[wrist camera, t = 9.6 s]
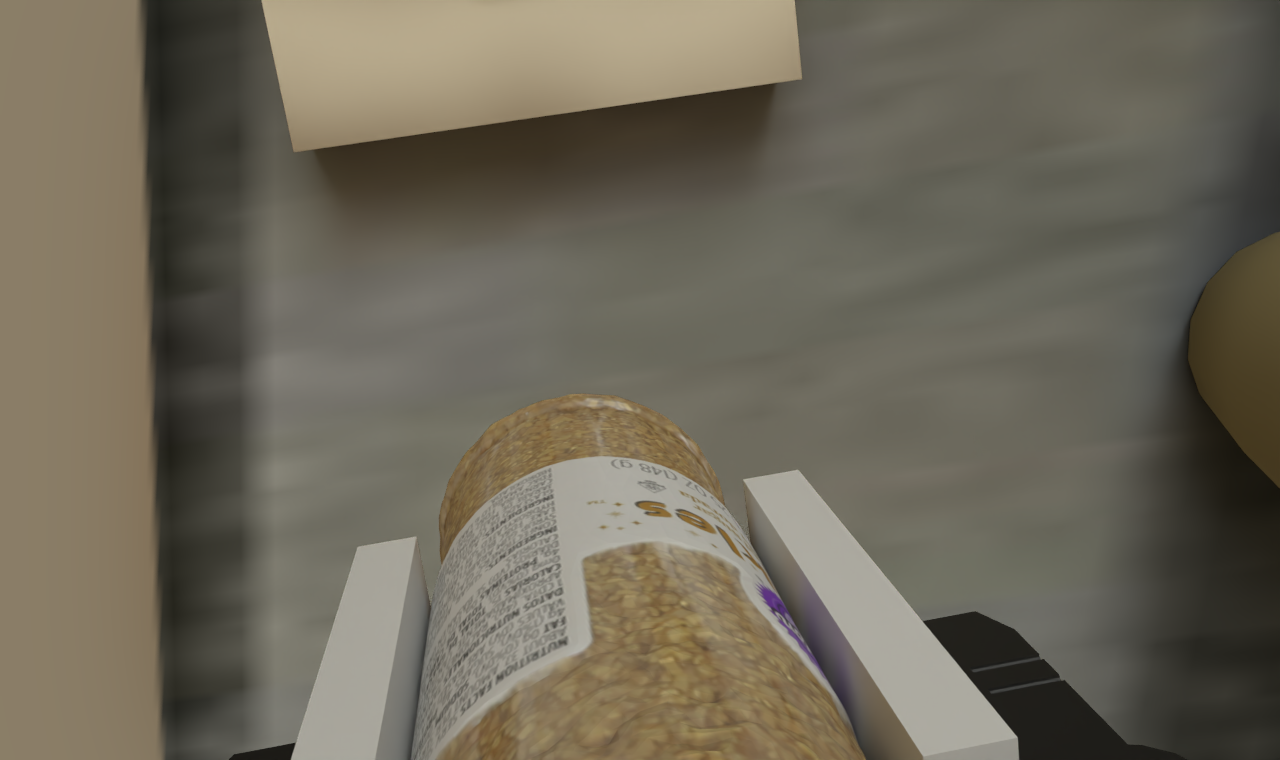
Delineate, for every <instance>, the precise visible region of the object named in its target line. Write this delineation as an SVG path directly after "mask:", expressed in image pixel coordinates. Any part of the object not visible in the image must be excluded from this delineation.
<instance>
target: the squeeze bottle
mask: <svg viewBox="0 0 1280 760" xmlns="http://www.w3.org/2000/svg"><path fill="white" fill-rule="evenodd" d="M1188 362H1189V364H1190V367H1191V370H1192V373H1193V376H1194V379H1195V382H1196V385H1197V388H1198V391H1199V394H1200V395H1201V396H1202V398H1203V399H1204V400H1205V402H1206V403H1207V404H1208V406H1209V407H1210V408H1211V410H1212V411H1213V412H1214V413H1215V415H1216V416H1217V417H1218V419H1219V420H1220V421H1221V423H1222V424H1223V425H1224V427H1225V428H1226V429H1227V431H1228V432H1229V433H1230V434H1231V436H1232V437H1233V438H1234V440H1235V441H1236V442H1237V444H1238V445H1239V446H1240V448H1241V449H1242V450H1243V452H1244V453H1245V454H1246V455H1247V456H1248V457H1249V458H1250V459H1251V460H1252V461H1253V462H1254V463H1255V464H1256V465H1257V466H1258V467H1259V468H1260V469H1261V470H1262V471H1263V472H1264V473H1265V474H1266V475H1267V476H1268V477H1269V478H1270V479H1271V480H1272V481H1273V482H1274V483H1275V484H1276V485H1277V486H1278V487H1279V488H1280V232H1277V233H1274V234H1272V235H1270V236H1268V237H1266V238H1264V239H1262V240H1260V241H1257V242H1255V243H1253V244H1251V245H1249V246H1247V247H1245V248H1243V249H1241V250H1239V251H1237V252H1236V253H1235V254H1234V255H1233V256H1232V257H1231V258H1230V259H1229V261H1228V262H1227V263H1226V264H1225V265H1224V266H1223V267H1222V268H1221V269H1220V270H1219V271H1218V272H1217V273H1216V274H1215V275H1214V276H1213V277H1212V278H1211V279H1210V280H1209V281H1208V283H1207V285H1206V287H1205V289H1204V292H1203V294H1202V296H1201V298H1200V300H1199V303H1198V305H1197V307H1196V309H1195V312H1194V314H1193V316H1192V318H1191V321H1190V335H1189V349H1188Z"/></svg>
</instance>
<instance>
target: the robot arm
mask: <svg viewBox="0 0 1280 760" xmlns="http://www.w3.org/2000/svg"><path fill="white" fill-rule="evenodd" d="M743 484H744V492H745V501H746V509H747V517H748V525H749V534H750V542H751V545H752V546H753V548H754V550H755V552H756V553H757V555H758V557H759V559H760V560H761V562H762V564H763V566H764V568H765V569H766V571H767V573H768V575H769V577H770V579H771V581H772V583H773V584H774V586H775V588H776V590H777V592H778V594H779V596H780V598H781V599H782V601H783V603H784V605H785V607H786V608H787V610H788V612H789V614H790V616H791V618H792V620H793V622H794V624H795V625H796V627H797V629H798V631H799V632H800V634H801V636H802V637H803V639H804V641H805V642H806V644H807V646H808V647H809V649H810V651H811V652H812V654H813V656H814V657H815V659H816V661H817V662H818V664H819V666H820V667H821V669H822V671H823V673H824V674H825V676H826V678H827V680H828V682H829V683H830V685H831V687H832V688H833V690H834V692H835V693H836V695H837V697H838V698H839V700H840V702H841V703H842V705H843V707H844V708H845V710H846V713H847V715H848V717H849V719H850V722H851V724H852V727H853V730H854V733H855V735H856V738H857V741H858V745H859V747H860V748H861V750H862V752H863V753H864V755H865V758H866V760H1187V759H1185V758H1183V757H1181V756H1179V755H1177V754H1175V753H1171V752H1167V751H1163V750H1159V749H1155V748H1151V747H1147V746H1143V745H1128V744H1127V743H1126V742H1125V741H1124V740H1123V739H1122V738H1121V737H1120V736H1119V735H1118V734H1117V733H1116V732H1115V731H1114V730H1113V729H1112V728H1111V727H1110V726H1109V725H1108V724H1107V723H1106V722H1105V721H1104V720H1103V719H1102V718H1101V717H1100V716H1099V715H1098V714H1097V713H1096V712H1095V711H1094V710H1093V709H1092V708H1091V707H1090V706H1089V705H1088V704H1087V703H1086V702H1085V701H1084V700H1083V699H1082V698H1081V697H1080V696H1079V694H1078V693H1077V692H1076V691H1075V690H1074V689H1073V688H1072V687H1071V686H1070V685H1069V684H1068V683H1067V682H1066V681H1065V680H1063V681H1061V680H1060V676H1059V674H1058V673H1057V672H1056V671H1055V670H1054V669H1053V668H1052V667H1051V666H1050V665H1049V664H1048V663H1047V662H1046V661H1045V660H1044V659H1042V660H1040V657H1039V654H1038V653H1037V652H1036V651H1035V650H1034V649H1033V648H1032V647H1031V646H1030V645H1029V644H1028V643H1027V642H1026V641H1025V639H1024V638H1023V637H1022V636H1021V635H1020V634H1019V633H1018V632H1017V631H1016V630H1015V629H1013V628H1010V627H1008V626H1006V625H1004V624H1002V623H1000V622H997V621H995V620H993V619H991V618H989V617H987V616H984V615H982V614H980V613H978V612H976V611H975V612H969V613H964V614H959V615H953V616H948V617H943V618H937V619H932V620H927V621H922V620H921V619H920V618H919V616H918V615H917V614H916V613H915V612H914V610H913V609H912V608H911V607H910V606H909V604H908V603H907V602H906V601H905V599H904V598H903V597H902V596H901V595H900V593H899V592H898V591H897V590H896V588H895V587H894V586H893V585H892V584H891V582H890V581H889V580H888V579H887V577H886V576H885V575H884V574H883V573H882V571H881V570H880V569H879V568H878V566H877V565H876V564H875V563H874V562H873V560H872V559H871V558H870V557H869V555H868V554H867V553H866V552H865V551H864V549H863V548H862V547H861V546H860V544H859V543H858V542H857V541H856V540H855V538H854V537H853V536H852V535H851V533H850V532H849V531H848V530H847V529H846V527H845V526H844V525H843V524H842V522H841V521H840V520H839V519H838V518H837V516H836V515H835V514H834V513H833V512H832V510H831V509H830V508H829V507H828V505H827V504H826V503H825V502H824V501H823V499H822V498H821V497H820V496H819V494H818V493H817V492H816V491H815V490H814V488H813V487H812V486H811V485H810V483H809V482H808V481H807V480H806V479H805V477H804V476H803V475H802V474H801V472H800V471H799V470H794V471H789V472H783V473H777V474H771V475H766V476H760V477H754V478H749V479H743ZM430 611H431V605H430V601H429V596H428V591H427V586H426V581H425V576H424V571H423V566H422V561H421V556H420V551H419V546H418V541H417V536H416V537H411V538H405V539H399V540H393V541H388V542H382V543H376V544H370V545H365V546H359V547H357V551H356V554H355V557H354V560H353V563H352V567H351V570H350V573H349V576H348V579H347V582H346V586H345V589H344V592H343V595H342V598H341V602H340V605H339V608H338V611H337V614H336V617H335V621H334V624H333V627H332V630H331V633H330V637H329V640H328V643H327V646H326V649H325V652H324V656H323V659H322V662H321V665H320V668H319V672H318V675H317V678H316V681H315V684H314V687H313V691H312V694H311V697H310V700H309V703H308V707H307V710H306V713H305V716H304V719H303V722H302V726H301V729H300V732H299V735H298V738H297V741H296V743H292V744H287V745H282V746H276V747H271V748H266V749H260V750H255V751H250V752H245V753H239V754H234V755H233V756H232V757H231V758H230V759H229V760H411V752H412V745H413V737H414V729H415V722H416V715H417V708H418V701H419V694H420V686H421V678H422V670H423V662H424V655H425V648H426V641H427V633H428V625H429V618H430Z"/></svg>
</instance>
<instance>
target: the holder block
mask: <svg viewBox="0 0 1280 760" xmlns="http://www.w3.org/2000/svg"><path fill="white" fill-rule="evenodd" d="M261 1H262V5H263V10H264V15H265V19H266V24H267V29H268V33H269V38H270V43H271V47H272V52H273V57H274V62H275V66H276V71H277V76H278V80H279V85H280V90H281V94H282V99H283V104H284V109H285V113H286V118H287V123H288V127H289V132H290V137H291V141H292V146H293V151H294V152H299V151H306V150H313V149H320V148H327V147H334V146H341V145H348V144H355V143H362V142H369V141H376V140H383V139H390V138H397V137H403V136H410V135H417V134H424V133H431V132H438V131H445V130H452V129H459V128H466V127H473V126H480V125H487V124H494V123H501V122H508V121H514V120H521V119H528V118H535V117H542V116H549V115H556V114H563V113H570V112H577V111H584V110H591V109H598V108H605V107H612V106H619V105H626V104H632V103H639V102H646V101H653V100H660V99H667V98H674V97H681V96H688V95H695V94H702V93H709V92H716V91H723V90H730V89H737V88H743V87H750V86H757V85H764V84H771V83H778V82H785V81H792V80H799V79H802V72H801V62H800V51H799V41H798V31H797V21H796V10H795V0H261Z"/></svg>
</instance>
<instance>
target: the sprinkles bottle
mask: <svg viewBox="0 0 1280 760" xmlns="http://www.w3.org/2000/svg"><path fill="white" fill-rule="evenodd" d="M439 531H440V557H441V563H442V566H441V569H440V572H439V574H438V578H437V582H436V586H435V590H434V594H433V599H432V604H431V611H430V618H429V625H428V633H427V641H426V648H425V655H424V662H423V670H422V678H421V686H420V694H419V701H418V708H417V715H416V722H415V729H414V737H413V745H412V752H411V760H866V758H865V755H864V753H863V752H862V750H861V748H860V747H859V745H858V741H857V738H856V735H855V733H854V730H853V727H852V724H851V722H850V719H849V717H848V715H847V713H846V710H845V708H844V707H843V705H842V703H841V702H840V700H839V698H838V697H837V695H836V693H835V692H834V690H833V688H832V687H831V685H830V683H829V682H828V680H827V678H826V676H825V674H824V673H823V671H822V669H821V667H820V666H819V664H818V662H817V661H816V659H815V657H814V656H813V654H812V652H811V651H810V649H809V647H808V646H807V644H806V642H805V641H804V639H803V637H802V636H801V634H800V632H799V631H798V629H797V627H796V625H795V624H794V622H793V620H792V618H791V616H790V614H789V612H788V610H787V608H786V607H785V605H784V603H783V601H782V599H781V598H780V596H779V594H778V592H777V590H776V588H775V586H774V584H773V583H772V581H771V579H770V577H769V575H768V573H767V571H766V569H765V568H764V566H763V564H762V562H761V560H760V559H759V557H758V555H757V553H756V552H755V550H754V548H753V546H752V545H751V543H750V541H749V540H748V538H747V536H746V534H745V533H744V531H743V530H742V529H741V527H740V526H739V524H738V523H737V521H736V520H735V519H734V518H733V516H732V515H731V514H730V513H729V511H728V510H727V509H726V508H725V504H724V500H723V496H722V491H721V488H720V484H719V481H718V479H717V477H716V475H715V472H714V471H713V469H712V467H711V466H710V465H709V463H708V462H707V460H706V459H705V457H704V455H703V453H702V452H701V450H700V448H699V446H698V445H697V444H696V443H695V442H694V441H693V440H692V439H691V438H690V437H689V436H688V435H687V434H686V433H685V432H684V431H683V430H682V429H681V428H679V427H678V426H677V425H675V424H674V423H673V422H671V421H670V420H669V419H668V418H666V417H665V416H663V415H661V414H660V413H658V412H656V411H653V410H651V409H649V408H647V407H644V406H642V405H640V404H637V403H635V402H632V401H629V400H626V399H623V398H620V397H617V396H612V395H594V394H570V395H566V396H563V397H559V398H554V399H548V400H543V401H540V402H537V403H534V404H532V405H530V406H528V407H526V408H522V409H519V410H518V411H516V412H515V413H513V414H511V415H509V416H507V417H505V418H503V419H501V420H499V421H497V422H495V423H494V424H492V425H491V426H490V427H489V428H488V429H487V430H486V432H485V433H484V434H483V435H482V436H481V438H480V439H479V440H478V441H477V442H476V443H475V444H474V445H473V446H472V447H471V448H470V449H469V450H468V451H467V452H466V453H465V455H464V456H463V458H462V459H461V461H460V463H459V464H458V466H457V468H456V469H455V471H454V473H453V475H452V476H451V478H450V480H449V482H448V486H447V489H446V493H445V497H444V500H443V502H442V505H441V510H440V515H439Z"/></svg>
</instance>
